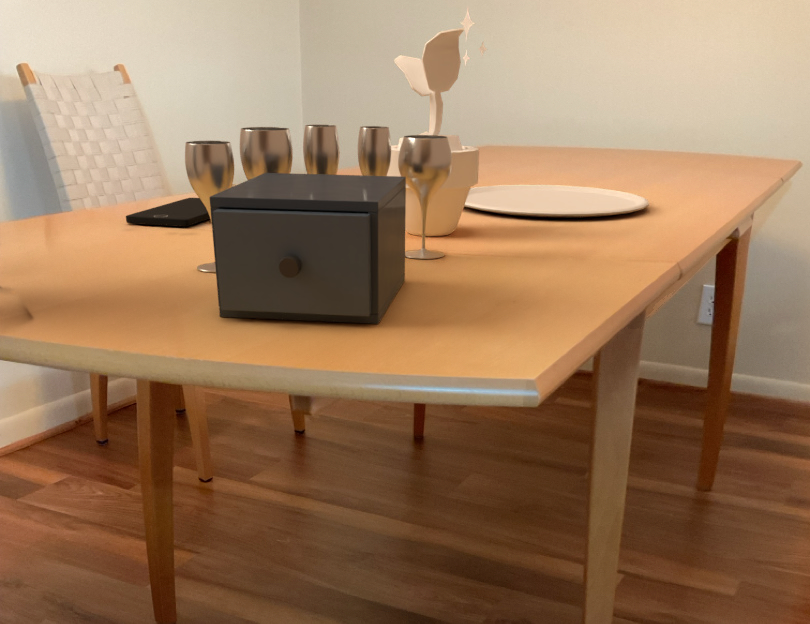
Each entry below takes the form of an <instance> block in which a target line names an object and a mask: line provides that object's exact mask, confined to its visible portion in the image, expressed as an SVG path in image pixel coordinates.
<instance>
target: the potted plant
mask: <svg viewBox="0 0 810 624" xmlns="http://www.w3.org/2000/svg"><path fill="white" fill-rule="evenodd" d="M459 24H461V25H462V27H458V28H452V29H446V30H440V31H438V32H437V33H436V34H435V35H434V36H432V37H431V38H430V39H429V40H428V41H426V42H425V43H424V46H423V50H422V55H421V57H420V58H419V57H414V56H408V55H403V54H400V55H398V56H397V57H396V58H394V59H393V63H394V64H395V65H396V66H397V67H398V68H399V70H401V72H403V74H404V77H405V78H406V80H407V82H408V84H409V87H410V89H411V90H412V91H414V92H415V93H416V94H418V95H419V96H420V97H427V96H428V97H429V124H428V125H429V126H428V131H427V130H425V131H423V132H421V133H419V134H417V135H438V136H446V137H448V141H449V145H450V149H451V153H452V169H451V173H450V175H449V177H448V178H447V180H446V181H445V182H444V183H443V185H442V186H441V187H440V188H439V189H438V190H437V191H436V192H435V193H434V195H433V196H432V198H431V200H430V202H429V205H428V209H427V215H426V228H425V237H443V236H449V235H450V234H452V233H453V232H454V231H456V230H457V228H458V225H459V222H460V220H461V217H462V213H463V211H464V208H465V207H464V205H465V202H466V199H467V196H468V193H469V190H470V188H472V187H474V186H476V185H477V184H479V170H480V169H479V167H480V148H479V147H476V146H472V145H471V146H470V145H462V143H461V141H460V136H459V135H458V134H457V135H456V134H440V132H441V128H442V123H443V110H444V101H443V97H442V93H444V92H448V91H450V89H451V88H452V87H453V85H454V84H455V83H456V81H457V80H458V77H459V73H460V69H461V64H462V61H461V53H460V47H459V46H460V36H461V35H462V34H463V32H464V36H465V41H468V40H467V39H468V35H469V31H470V28H471V27H472V26H473V25H475V24H476V23H475V22H474V21H472V18H471V16H470V9H469V6H467V9H466V14H465V17H464V19H463V20H462V21H460V22H459ZM487 50H489V49H488V48H486V47H485V43H484V42H482V43H481V46H480V47H479V48H478V51H479V52H480V57H481V58H483V56H484V53H485V51H487ZM470 59H471V58H470V57H469V56H468V50H467V49H466V50H465V54H464V56H462V60H463V61H464V67H465V68H466V66H467V62H468V61H469V60H470ZM403 138H404V136H402V137H400V138H399V140H398V144H391V161H390V167H389V170H388V174H387V176H400V177H402V176H401V175H400V172H399V168H398V156H399V151H400V147H401V144H402V141H403ZM405 232H407V233H408V234H409V235H414V236H419V237H422V213H421V207H420V203H419V200H418V198H417V196H416V195H415V193H414V192H413V191H412V189H411V188H410V187H409V186H408V185H407V184H406V213H405Z"/></svg>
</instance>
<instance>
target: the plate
mask: <svg viewBox="0 0 810 624" xmlns="http://www.w3.org/2000/svg"><path fill="white" fill-rule="evenodd" d="M649 206H650V202H649V200H648V199H647V198H645V197H643V196H641V195H639V194H636V193H631V192H627V191H622V190H615V189H609V188H601V187H592V186H581V185H579V186H578V185H566V184H565V185H563V184H496V185H485V186H484V185H483V186H476V187H471V188H470V190H469V193H468V196H467V199H466V202H465V205H464V208H468V209H474V210H479V211H484V212H488V213H493V214H499V215H508V216H515V217H516V216H517V217H528V218H547V219H548V218H549V219H551V218H552V219H581V218H598V217H607V216H615V215H621V214H629V213H633V212H638V211H642V210H644V209H645V208H648V207H649Z"/></svg>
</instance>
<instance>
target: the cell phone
mask: <svg viewBox="0 0 810 624" xmlns="http://www.w3.org/2000/svg"><path fill="white" fill-rule="evenodd" d="M207 220H210V216H209V213H208V211H207V209H206V207H205V206H204V204H203V203H202V201H201V200H200V198H199V197H187V198H183V199H179V200H175V201H173V202H169V203H166V204H161V205H158V206H155V207H151V208H148V209H144V210H141V211H137V212H134V213H130V214H128V215H126V216H125V221H126V223H127V224H133V225H151V226H164V227H165V226H166V227H167V226H168V227H190V226H192V225H196V224H198V223H201V222H204V221H207Z"/></svg>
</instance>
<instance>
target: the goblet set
mask: <svg viewBox="0 0 810 624" xmlns="http://www.w3.org/2000/svg"><path fill="white" fill-rule="evenodd" d="M290 131H291V130H290V128H289V127H281V126H280V127H279V126H247V127H241V128H240V133H239V156H240V157H239V158H240V162H241V166H242V170H243V173H244V175H245V178H246V181H247V180H250V179H252V178H254V177H257V176H259V175H261V174H264V173H289V174H291V172H292V167H293V158H294V157H293V155H294V154H293V153H294V152H293V141H292V136H291V132H290ZM403 137H404V138H403V141H402V144H401V147H400V151H399V156H398V168H399V172H400V175H401V176H402V177H406V184H407V185H408V186H409V187H410V188H411V189H412V191H413V192H414V193H415V195H416V196H417V198H418V200H419V203H420V207H421V213H422V236H421V248H420V249H413V250H405V258H409V259H413V260H435V259H440V258H443V257H445V253H444V252H442V251H439V250H432V249H427V248H426V236H425V228H426V215H427V209H428V205H429V202H430V200H431V198H432V196H433V195H434V193H435V192H436V191H437V190H438V189H439V188H440V187H441V186H442V185H443V183H444V182H445V181H446V180H447V178H448V177H449V175H450V173H451V169H452V153H451V149H450V145H449V141H448V137H446V136H438V135H418V134H410V135H409V134H408V135H404V136H403ZM391 140H392V139H391V133H390V127H389V126H384V125H383V126H382V125H381V126H380V125H364V126H363V125H362V126H360V127H359V130H358V138H357V161H358V166H359V170H360V174H361V175H363V176H387V174H388V170H389V167H390V161H391V145H392V141H391ZM184 146H185V147H184V164H185V171H186V175H187V179H188V182H189V184H190V186H191V188H192V190H193V192H194V193H195V194H196V196H197V198H200V200H201V201H202V203H203V204H204V206H205V207H206V209H207V211H208V213H209V216H210V219H209V220H210V223H211V225H212V220H211V209H210V208H211V207H210V196H213V195H215V194H217V193H220V192H222V191H224V190H227V189H229V188H231V186H232V184H234V177H235V158H234V157H235V156H234V152H233V148H232V143H231V142H230V141H227V140H226V141H225V140H192V141H191V140H190V141H186V142H185V145H184ZM340 151H341V150H340V139H339V133H338V127H337V125H335V124H306V125H304V131H303V141H302V153H303V154H302V155H303V162H304V166H305V171H306V174H326V175H338V170H339V165H340ZM196 270H198V271H200V272H204V273H211V274H212V273H215V274H216V267H215V261H213V262H205V263H201V264H199V265H198V266H196Z"/></svg>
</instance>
